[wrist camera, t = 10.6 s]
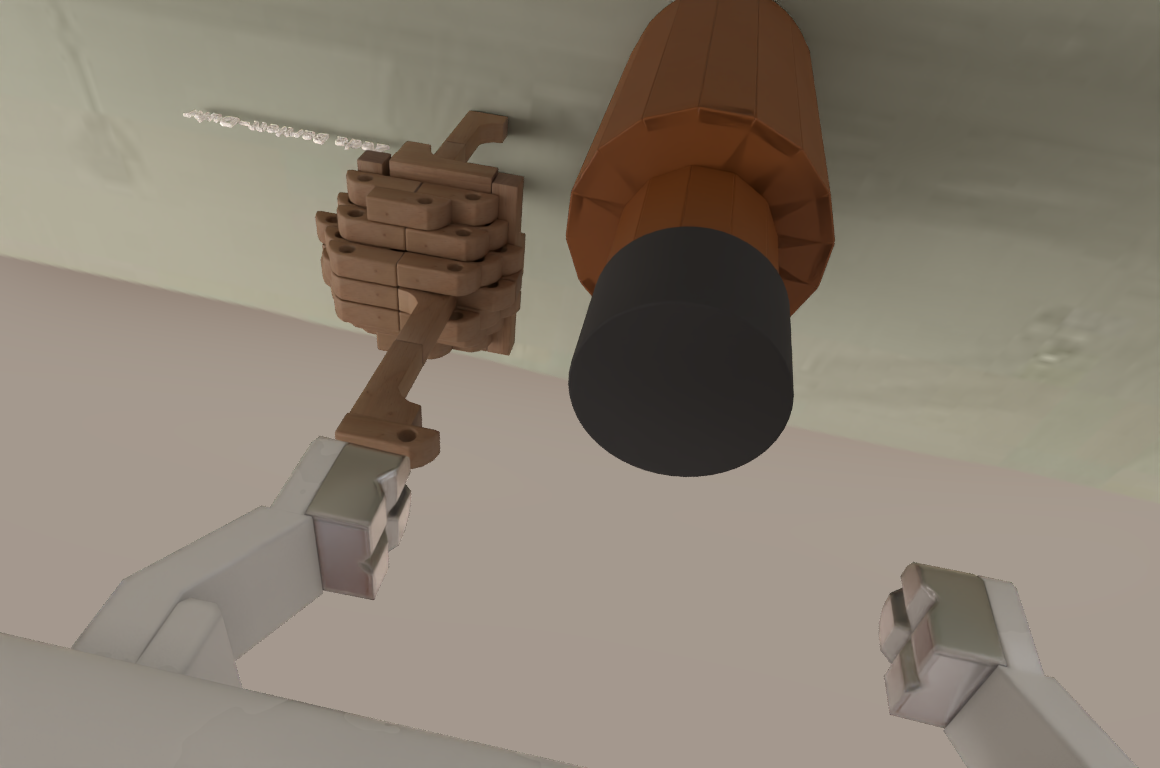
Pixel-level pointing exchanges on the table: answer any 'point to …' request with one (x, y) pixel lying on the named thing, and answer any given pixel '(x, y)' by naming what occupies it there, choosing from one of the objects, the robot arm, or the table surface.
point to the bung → (685, 354)
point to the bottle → (711, 143)
